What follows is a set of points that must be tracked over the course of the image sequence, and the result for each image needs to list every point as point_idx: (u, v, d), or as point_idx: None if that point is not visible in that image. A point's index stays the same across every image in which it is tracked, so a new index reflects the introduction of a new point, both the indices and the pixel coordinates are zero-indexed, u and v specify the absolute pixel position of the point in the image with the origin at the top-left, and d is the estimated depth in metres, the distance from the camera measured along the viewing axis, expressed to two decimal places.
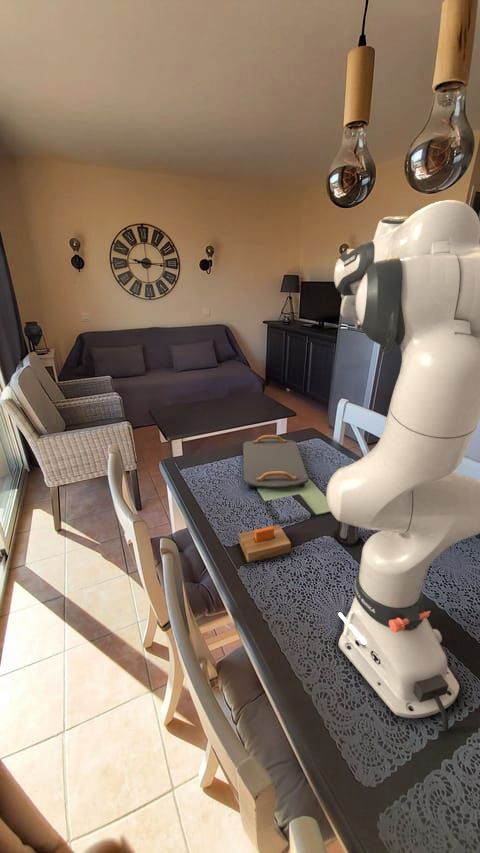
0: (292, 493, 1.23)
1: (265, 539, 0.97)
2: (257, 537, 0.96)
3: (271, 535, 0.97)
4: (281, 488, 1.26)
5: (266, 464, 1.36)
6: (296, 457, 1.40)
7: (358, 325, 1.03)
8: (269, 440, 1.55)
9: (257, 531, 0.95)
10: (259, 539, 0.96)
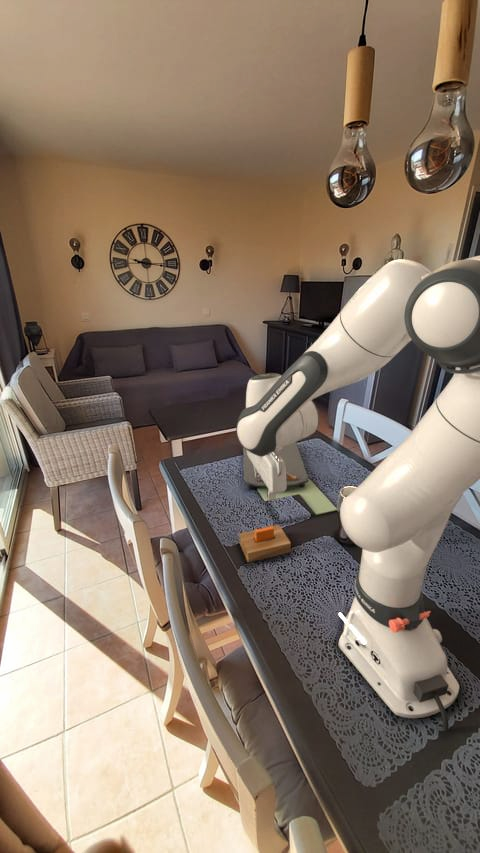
0: (292, 493, 1.23)
1: (265, 539, 0.97)
2: (257, 537, 0.96)
3: (271, 535, 0.97)
4: None
5: None
6: (296, 457, 1.40)
7: None
8: None
9: (257, 531, 0.95)
10: (259, 539, 0.96)
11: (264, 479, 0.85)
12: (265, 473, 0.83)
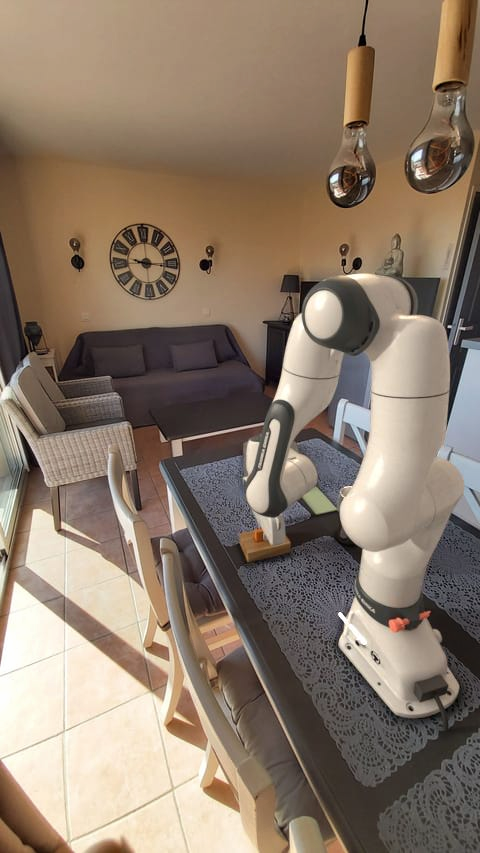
0: None
1: None
2: (257, 537, 0.96)
3: None
4: None
5: None
6: None
7: None
8: None
9: (257, 531, 0.95)
10: (259, 540, 0.96)
11: (264, 530, 0.90)
12: (265, 525, 0.88)
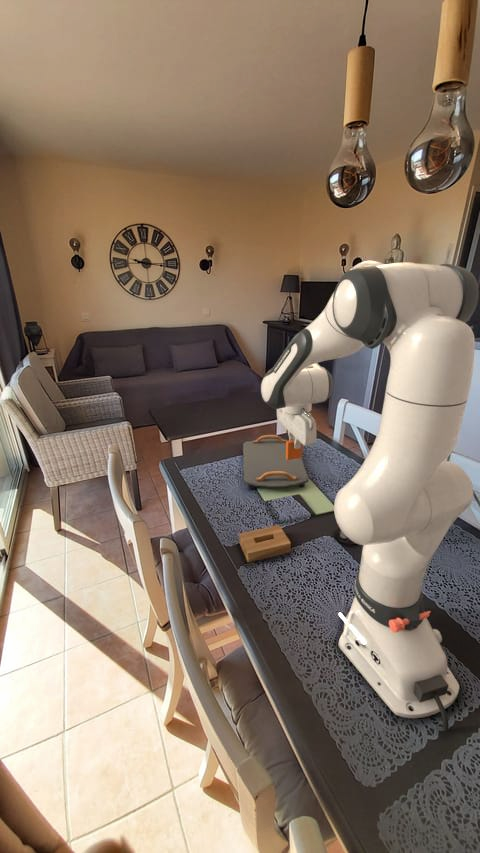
0: (292, 493, 1.23)
1: (295, 450, 1.10)
2: (288, 447, 1.09)
3: (300, 446, 1.10)
4: (281, 488, 1.26)
5: (266, 464, 1.36)
6: None
7: None
8: (269, 440, 1.55)
9: (288, 442, 1.09)
10: (290, 450, 1.10)
11: (296, 435, 1.03)
12: (298, 430, 1.02)
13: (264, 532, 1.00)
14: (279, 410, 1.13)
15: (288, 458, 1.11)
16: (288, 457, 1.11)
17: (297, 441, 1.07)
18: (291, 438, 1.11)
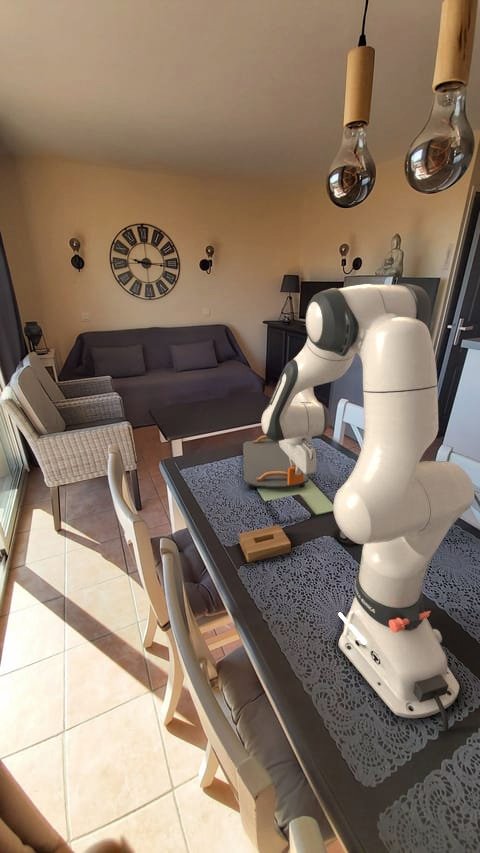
0: (292, 493, 1.23)
1: (296, 476, 1.16)
2: (290, 473, 1.15)
3: (301, 472, 1.16)
4: (281, 488, 1.26)
5: (266, 464, 1.36)
6: None
7: None
8: (269, 440, 1.55)
9: (290, 468, 1.15)
10: (292, 476, 1.16)
11: (298, 464, 1.09)
12: (299, 459, 1.08)
13: (264, 532, 1.00)
14: None
15: (289, 483, 1.17)
16: (289, 482, 1.16)
17: (298, 468, 1.12)
18: (292, 464, 1.17)
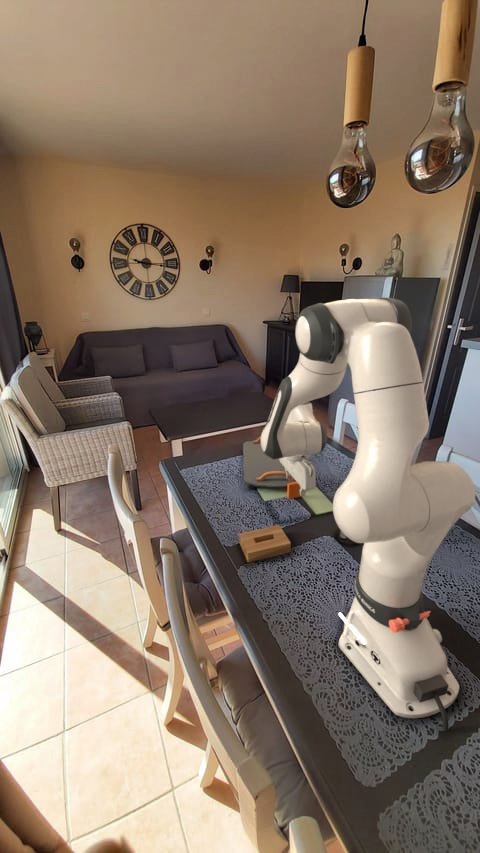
0: None
1: (296, 491, 1.18)
2: (289, 489, 1.17)
3: (300, 488, 1.18)
4: (281, 488, 1.26)
5: (266, 464, 1.36)
6: None
7: None
8: None
9: (289, 484, 1.17)
10: (291, 491, 1.18)
11: (297, 480, 1.11)
12: (298, 475, 1.10)
13: (264, 532, 1.00)
14: None
15: (289, 498, 1.19)
16: (289, 498, 1.19)
17: (302, 489, 1.12)
18: (288, 474, 1.22)
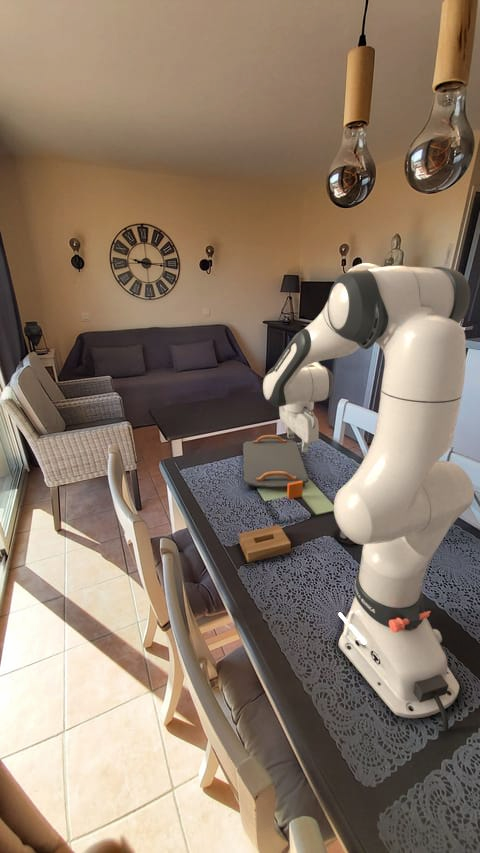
0: None
1: (296, 491, 1.18)
2: (289, 489, 1.17)
3: (300, 488, 1.18)
4: (281, 488, 1.26)
5: (266, 464, 1.36)
6: (296, 457, 1.40)
7: None
8: (269, 440, 1.55)
9: (289, 484, 1.17)
10: (291, 491, 1.18)
11: (299, 434, 1.05)
12: (300, 428, 1.04)
13: (264, 532, 1.00)
14: (282, 409, 1.15)
15: (289, 498, 1.19)
16: (289, 498, 1.19)
17: (305, 444, 1.05)
18: (289, 433, 1.15)
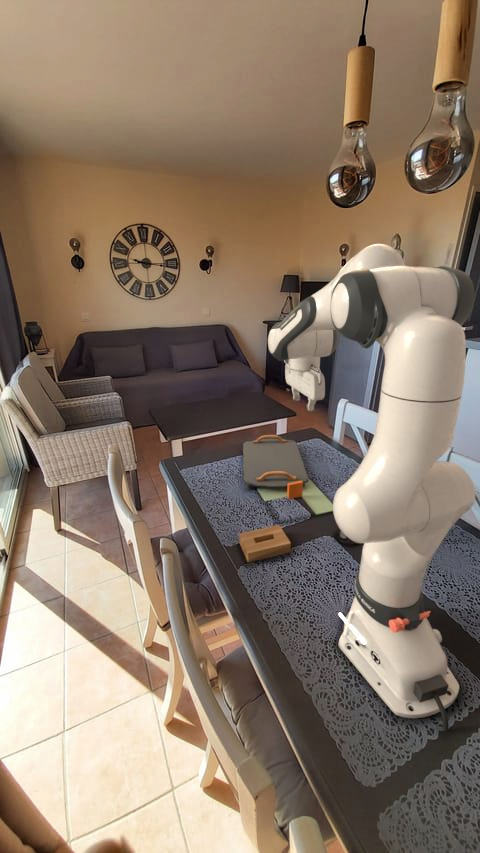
0: None
1: (296, 491, 1.18)
2: (289, 489, 1.17)
3: (300, 488, 1.18)
4: (281, 488, 1.26)
5: (266, 464, 1.36)
6: (296, 457, 1.40)
7: None
8: (269, 440, 1.55)
9: (289, 484, 1.17)
10: (291, 491, 1.18)
11: (305, 392, 1.06)
12: (307, 386, 1.05)
13: (264, 532, 1.00)
14: (288, 371, 1.16)
15: (289, 498, 1.19)
16: (289, 498, 1.19)
17: (311, 402, 1.07)
18: (295, 394, 1.17)
